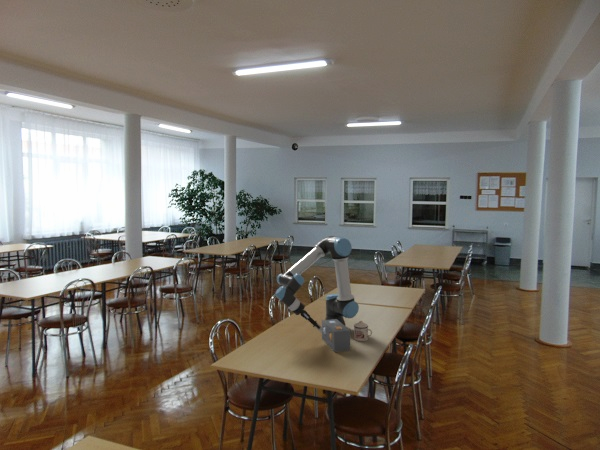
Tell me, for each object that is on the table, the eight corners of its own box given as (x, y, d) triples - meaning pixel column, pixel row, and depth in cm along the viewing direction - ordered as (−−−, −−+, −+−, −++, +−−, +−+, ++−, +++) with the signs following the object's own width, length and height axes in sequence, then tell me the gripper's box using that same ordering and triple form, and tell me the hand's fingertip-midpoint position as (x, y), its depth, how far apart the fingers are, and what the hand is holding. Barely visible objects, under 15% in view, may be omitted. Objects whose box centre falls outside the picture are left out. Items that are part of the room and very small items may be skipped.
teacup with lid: (351, 340, 264) (351, 321, 264) (357, 335, 272) (357, 318, 272) (369, 343, 258) (369, 324, 258) (374, 338, 266) (374, 320, 266)
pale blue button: (328, 332, 264) (328, 325, 264) (330, 334, 260) (330, 327, 260) (323, 333, 263) (323, 326, 263) (325, 335, 259) (325, 328, 259)
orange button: (335, 338, 253) (335, 331, 252) (337, 341, 248) (337, 334, 248) (329, 339, 252) (329, 332, 252) (331, 341, 248) (331, 334, 247)
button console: (336, 337, 270) (336, 318, 269) (350, 350, 247) (350, 329, 246) (321, 338, 267) (321, 319, 267) (334, 352, 244) (334, 331, 243)
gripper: (289, 308, 261) (315, 332, 267) (294, 314, 249) (321, 338, 254) (297, 299, 262) (323, 323, 268) (303, 304, 250) (329, 329, 255)
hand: (322, 330), depth 261 cm, fingers closed
